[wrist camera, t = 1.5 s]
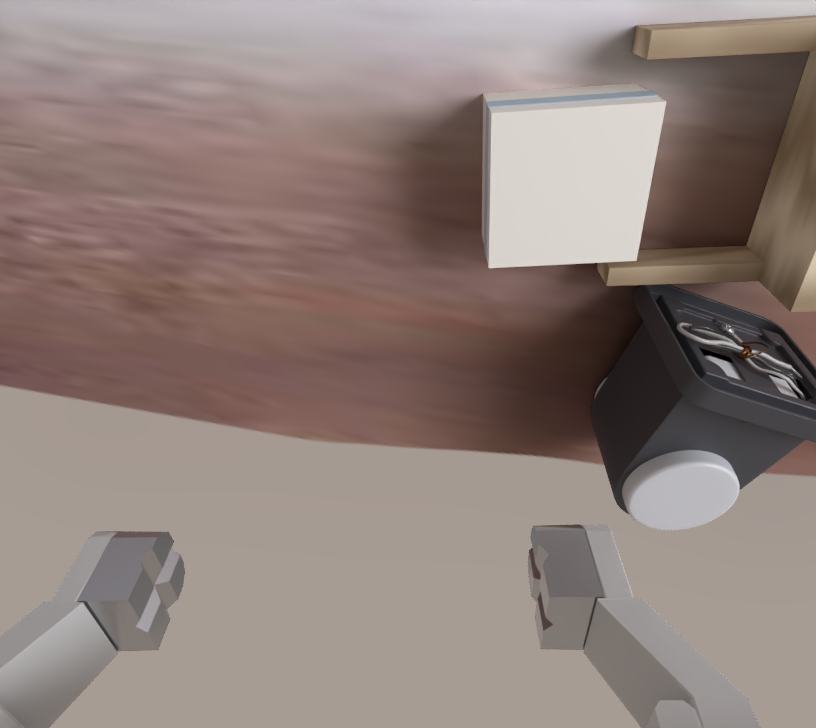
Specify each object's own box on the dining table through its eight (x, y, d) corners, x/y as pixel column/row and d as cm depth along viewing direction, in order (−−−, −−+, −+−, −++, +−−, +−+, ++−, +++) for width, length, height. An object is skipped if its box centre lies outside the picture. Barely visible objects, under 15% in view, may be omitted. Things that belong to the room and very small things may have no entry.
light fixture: (547, 404, 43) (574, 523, 35) (645, 263, 35) (710, 373, 27) (668, 439, 45) (721, 560, 37) (787, 313, 37) (889, 430, 29)
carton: (481, 91, 30) (490, 112, 26) (634, 81, 30) (667, 100, 26) (480, 233, 35) (487, 269, 31) (612, 226, 34) (637, 261, 30)
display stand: (636, 25, 28) (680, 39, 23) (853, 13, 27) (945, 25, 23) (596, 268, 36) (623, 316, 31) (764, 262, 35) (818, 310, 30)
